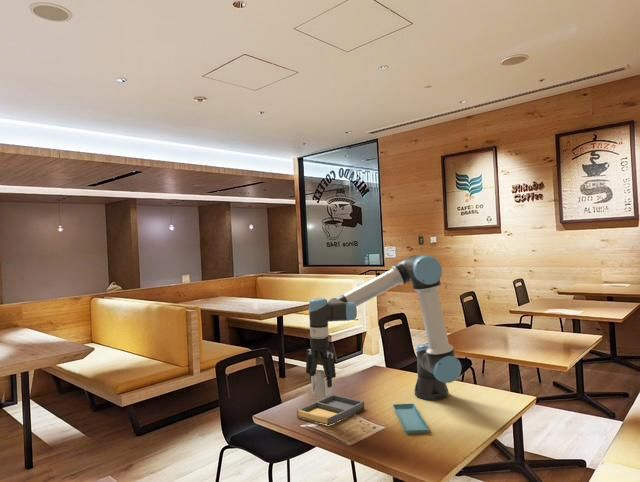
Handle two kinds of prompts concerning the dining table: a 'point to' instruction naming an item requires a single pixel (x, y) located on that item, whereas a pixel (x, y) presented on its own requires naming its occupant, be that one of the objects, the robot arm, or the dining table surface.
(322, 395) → the flask
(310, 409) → the caddy
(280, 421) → the dining table surface
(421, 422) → the shallow long dish
